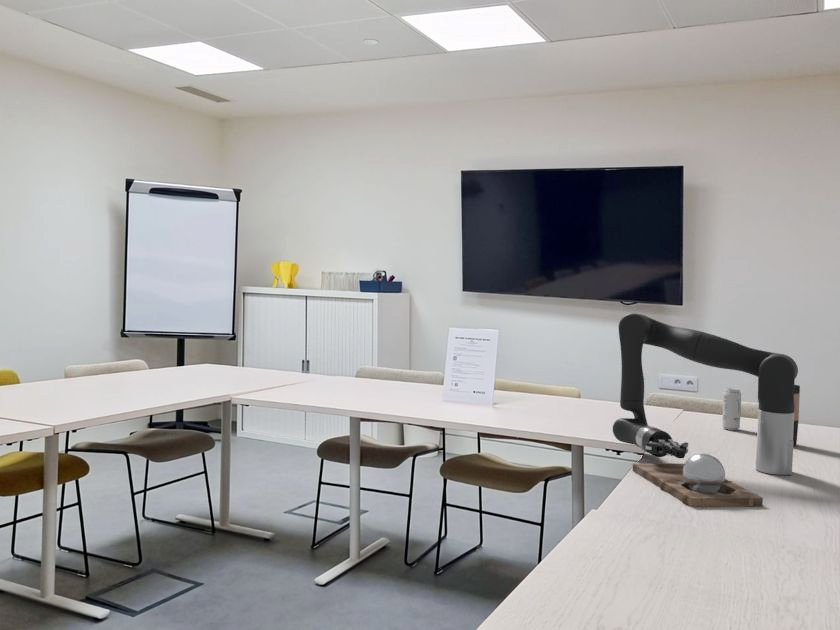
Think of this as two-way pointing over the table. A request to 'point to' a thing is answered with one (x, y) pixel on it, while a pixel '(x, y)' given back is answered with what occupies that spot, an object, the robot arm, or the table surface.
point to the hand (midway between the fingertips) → (681, 454)
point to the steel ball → (703, 473)
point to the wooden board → (674, 484)
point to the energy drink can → (731, 409)
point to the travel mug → (796, 413)
